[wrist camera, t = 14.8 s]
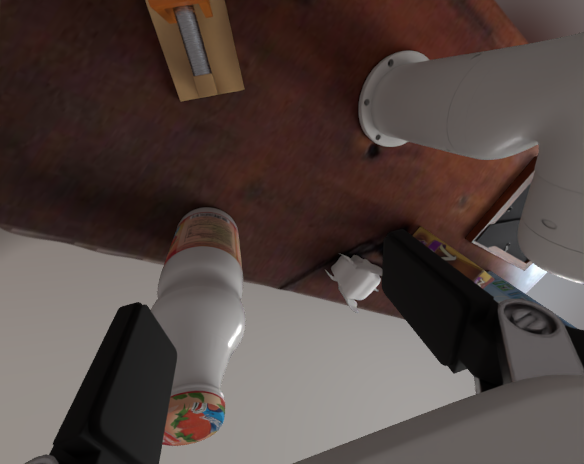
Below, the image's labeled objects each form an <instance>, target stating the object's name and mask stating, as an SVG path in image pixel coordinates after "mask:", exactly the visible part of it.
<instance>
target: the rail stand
mask: <svg viewBox="0 0 584 464" xmlns="http://www.w3.org/2000/svg"><path fill="white" fill-rule="evenodd" d="M145 2H146V4H147V7H148V10H149V13H150V16H151V19H152V22H153V24H154V27H155V30H156V33H157V36H158V39H159V42H160V45H161V47H162V50H163V53H164V56H165V59H166V62H167V65H168V68H169V70H170V73H171V76H172V79H173V82H174V85H175V88H176V90H177V93H178V96H179V99H180V101H186V100H192V99H197V98H203V97H208V96H213V95H219V94H224V93H229V92H235V91H240V90H244V85H243V80H242V76H241V71H240V67H239V62H238V58H237V53H236V49H235V44H234V40H233V35H232V31H231V27H230V22H229V18H228V13H227V9H226V4H225V0H209V2H210V6H211V10H212V14H213V17H209V18H206V17H205V15H204V13H203V12H202V10H201V8H200V6H199V4H192V5H185V6H179V7H173V11H174V15H175V18H176V21H177V23H173V24H169V23H168V22H167V21H166V20H165V19H164V18H163V17H161V16H160V15H159V14H158V13H157V12H156V11H155V10H153V9H152V8H151V7H150V5H149V2H148V0H145Z"/></svg>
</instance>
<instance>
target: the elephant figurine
mask: <svg viewBox="0 0 584 464" xmlns="http://www.w3.org/2000/svg"><path fill="white" fill-rule="evenodd" d="M339 254H340V253H339ZM341 255H342V254H341ZM331 270H332V273H333V274H334V277H333V276H331V275H330V274H329V273H328V272H327V271H326V270H325V271H326V272H327V274H328V275H329V276H330V278H331V279H332V280H334V281H338V285H339V287H338V289H339V291H340V292H341V294H342V295H343V297H344V298H345V300H346V302H347V304H348V306H349V307H350V308H351V309H352V310H353V311H354V312H356V313H358V312H359V310H358V309H357V308H356V307H357V303H356V301H355V300H353V299H356V300H363V299H365V298H366V297H367V296H368V295H369V294H370V293H371V292H372V291H373V290H375V291H377V292H378V290H377V289H376V287H377V286H378V284H379V283H380V280H381V279H380V277H379V275H381V276H382V269H381V268H380V267H378V266H376V265H373V264H371V263H370V262H369V261H368V260H367V259H362V258H360V257H359V256H357V255H353V257H352V258H349V257H348V256H345V255H343V256H341V257H340V258H339V259H338V261H337V262H336V263H335V264H334V265H333V266H332V267H331Z"/></svg>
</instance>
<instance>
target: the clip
mask: <svg viewBox="0 0 584 464" xmlns="http://www.w3.org/2000/svg"><path fill="white" fill-rule="evenodd" d="M148 2H149V5H150V7H151V8H152V9H153V10H155V11H156V12H157V13H158V14H159V15H160V16H161V17H163V18H164V19H165V20H166V21H167V22H168V23H169V24H173V23H177V21H176V18H175V15H174V11H173V7H179V6H185V5H192V4H199V6H200V8H201V10H202V12H203V13H204V15H205V17H206V18H209V17H213V14H212V10H211V6H210V2H209V0H148Z"/></svg>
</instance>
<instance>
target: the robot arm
mask: <svg viewBox="0 0 584 464" xmlns="http://www.w3.org/2000/svg"><path fill="white" fill-rule="evenodd" d="M364 101H365V104H364ZM358 114H359V120H360V124H361V127H362V129H363V131H364V133H365V134H366V136H367V137H368V138H369V139H370V140H371V141H373V142H374V143H376V144H379V145H381V146H386V147H395V146H399V145H402V144H405V143H407V142H412V143H416V144H420V145H424V146H428V147H432V148H436V149H439V150H443V151H447V152H451V153H455V154H459V155H463V156H467V157H471V158H475V159H482V160H493V159H501V158H505V157H508V156H511V155H514V154H517V153H520V152H522V151H524V150H527V149H529V148H531V147H533V146H535V145H537V144H538V145H539V153H538V157H537V161H536V165H535V172H534V176H533V179H532V182H531V185H530V189H529V192H528V195H527V199H526V202H525V205H524V209H523V212H522V215H521V219H520V223H519V228H518V243H519V246H520V249H521V250H522V252H523V253H524V255H525V256H526V257H527V258H528V259H529V260H530V261H531V262H532V263H534V264H535V265H537V266H538V267H540V268H541V269H543V270H545V271H547V272H549V273H551V274H553V275H556V276H558V277H561V278H564V279H567V280H570V281H573V282H577V283H580V284H583V285H584V32H583V33H579V34H575V35H571V36H566V37H562V38H556V39H552V40H547V41H542V42H536V43H531V44H526V45H519V46H513V47H507V48H502V49H496V50H490V51H484V52H478V53H472V54H465V55H459V56H453V57H447V58H441V59H434V60H429V59H428V58H427V57H426V56H425V55H423V54H421V53H419V52H416V51H411V50H410V51H401V52H397V53H394V54H392V55H389V56H387V57H386V58H385V59H383V60H382V61H380V62H379V63H378V64H377V65H376V66H375V67H374V68H373V70H372V71H371V73H370V74H369V75H368V77H367V79H366V81H365V83H364V85H363V88H362V91H361V94H360V99H359V107H358ZM375 137H376V138H375ZM382 289H383V291H384V293H385V295H386V296H387V297H388V298H389V300H390V301H391V302H392V303H393V305H394V306H395V307H396V308H397V310H398V311H399V312H400V313H401V315H402V316H403V317H404V318H405V320H406V321H407V322H408V323H409V324H410V326H411V327H412V328H413V330H414V331H415V332H416V333H417V335H418V336H419V337H420V338H421V339H422V341H423V342H424V343H425V344H426V346H427V347H428V348H429V349H430V351H431V352H432V353H433V354H434V356H435V357H436V358H437V359H438V361H439V362H440V363H441V364H443V365H445V366H448V367H449V368H450V369H451V371H452V372H453V373H457V372H460V371H462V370H465V369H468V370H469V371H470V372H471V374H472V375H473V376H474V381H475V391H476V395H473V396H470V397H468V398H465V399H462V400H459V401H456V402H453V403H451V404H448V405H446V406H443V407H440V408H438V409H435V410H432V411H430V412H427V413H424V414H422V415H419V416H416V417H414V418H411V419H409V420H406V421H403V422H400V423H398V424H395V425H393V426H390V427H387V428H385V429H382V430H379V431H377V432H374V433H372V434H369V435H367V436H364V437H361V438H358V439H356V440H353V441H351V442H348V443H345V444H343V445H340V446H337V447H335V448H332V449H330V450H327V451H324V452H322V453H320V454H317V455H314V456H311V457H309V458H307V459H304V460H301V461H298V462H296V463H293V464H584V330H579V329H576V328H572V327H568V326H564V324H563V322H562V321H561V319H560V318H559V317H558V316H557V315H556V314H554V313H553V312H552V311H550V310H549V309H547V308H545V307H544V306H542V305H539V304H537V303H535V302H532V301H528V300H524V299H515V298H513V299H506V300H504V301H501V302H500V304H499V303H498V302H496V301H495V300H494V297H493V296H492V295H490V294H489V293H488V292H486V291H485V290H484V289H482V288H481V287H480V286H479V285H477V284H476V283H475V282H473V281H472V280H471V279H469V278H468V277H467V276H465V275H464V274H463V273H461V272H460V271H459V270H457V269H456V268H455V267H453V266H452V265H451V264H449V263H448V262H447V261H445V260H444V259H443V258H441V257H440V256H439V255H437V254H436V253H435V252H433V251H432V250H431V249H429V248H428V247H427V246H425V245H424V244H423V243H421V242H420V241H419V240H417V239H416V238H415V237H413V236H412V235H411V234H410V233H408V232H407V231H406V230H404V229H399V230H396V231H392V232H389V233H388V234H387V237H385V238H384V244H383V268H382ZM176 363H177V351H176V348H175V347H174V345H173V344H172V342H171V341H170V339H169V338H168V336H167V335H166V333H165V332H164V330H163V329H162V327H161V326H160V324H159V323H158V321H157V320H156V318H155V316H154V315H153V313H152V312H151V310H150V309H149V307H148V306H147V305H142V304H141V303H139V302H137V303H133V304H129V305H126V306H122V307H120V308H119V309H118V311H117V313H116V315H115V317H114V319H113V321H112V323H111V325H110V327H109V329H108V331H107V333H106V336H105V337H104V339H103V341H102V344H101V346H100V348H99V350H98V352H97V354H96V356H95V358H94V360H93V362H92V364H91V366H90V368H89V370H88V372H87V375H86V376H85V378H84V380H83V382H82V385H81V387H80V389H79V391H78V393H77V395H76V397H75V399H74V401H73V403H72V405H71V407H70V409H69V411H68V413H67V415H66V417H65V420H64V421H63V424H62V425H61V427H60V429H59V432H58V434H57V436H56V438H55V440H54V442H53V445H54V446H53V448H52V450H51V452H50V454H49V455H43V456H39V457H36V458H34V459H32V460H30V461H28V462H26V463H25V464H159V459H160V454H161V448H162V443H163V437H164V431H165V425H166V420H167V414H168V408H169V403H170V397H171V391H172V386H173V380H174V374H175V368H176Z"/></svg>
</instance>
